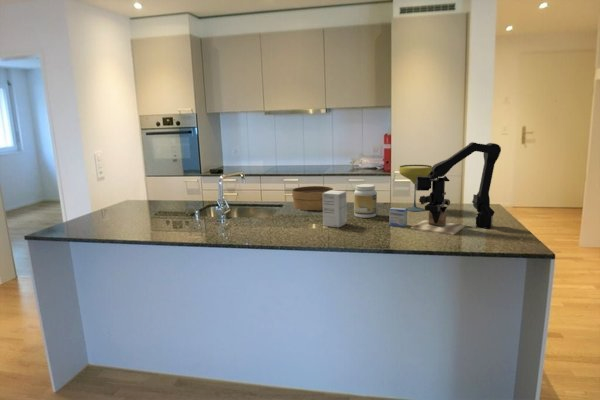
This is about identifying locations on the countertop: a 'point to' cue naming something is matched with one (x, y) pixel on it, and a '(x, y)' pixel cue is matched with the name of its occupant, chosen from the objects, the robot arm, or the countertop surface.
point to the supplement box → (334, 208)
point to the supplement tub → (365, 201)
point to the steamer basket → (309, 197)
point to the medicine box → (398, 217)
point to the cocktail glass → (415, 178)
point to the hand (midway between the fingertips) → (437, 222)
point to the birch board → (438, 228)
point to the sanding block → (440, 221)
